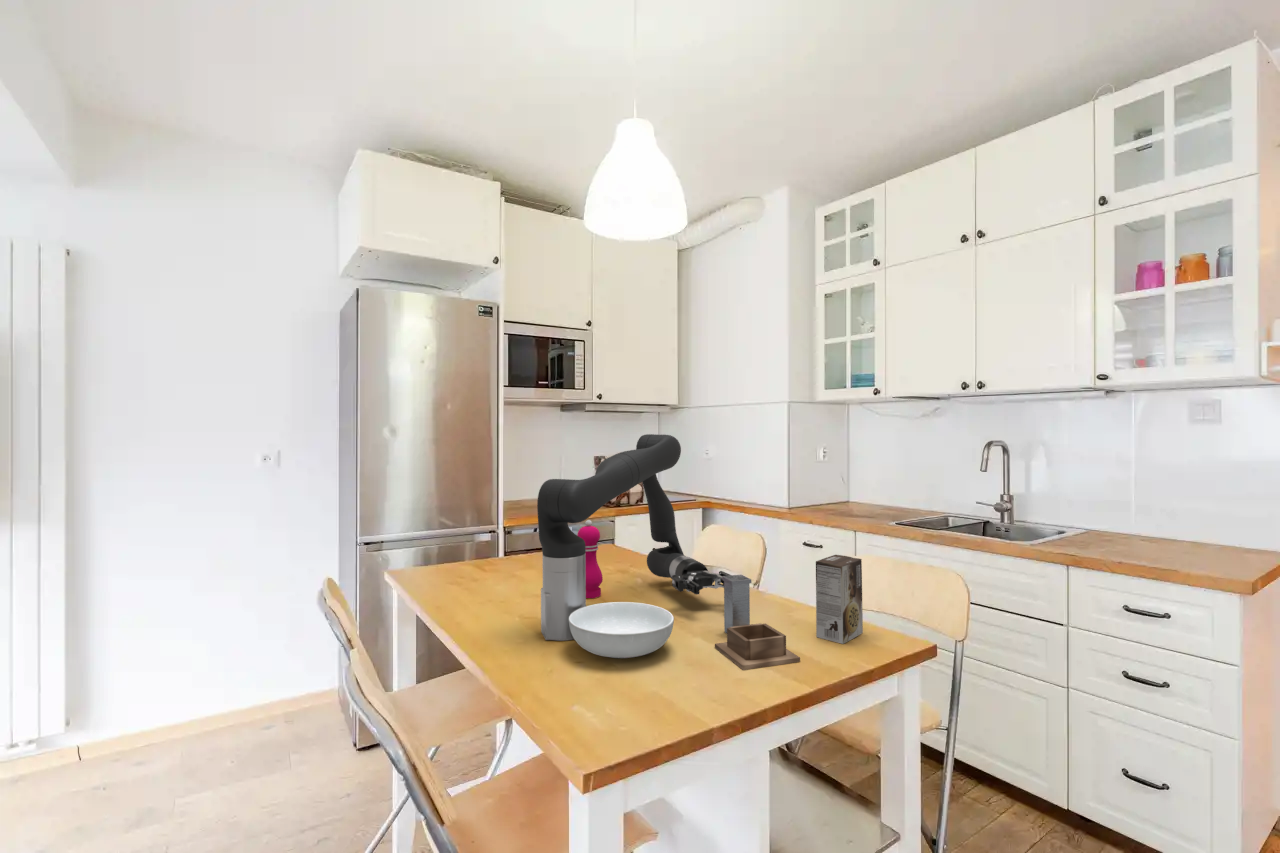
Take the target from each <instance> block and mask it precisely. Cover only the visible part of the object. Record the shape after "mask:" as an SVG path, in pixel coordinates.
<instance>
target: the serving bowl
mask: <svg viewBox="0 0 1280 853" xmlns="http://www.w3.org/2000/svg"><path fill="white" fill-rule="evenodd" d="M674 621H675V617H674V615H673V614H672V613H671V612H670V611H669V610H668V609H665V608H663V607H661V606H657V605H653V604H648V603H643V602H632V601H614V602H613V601H610V602H603V603H602V602H601V603H595V604H590V605H586V607H583V608H580V609H578V610H576V611H574V612H573V613H571V615H570V616H569V626H570V630H571V633H572V636H573V638H574V639H573V640H574V641H575V643H577V645H578V646H580V647H581V648H582V649H584V650H585V651H587V652H589V653H591V654H594V655H597V656H601V657H606V658H612V659H628V658H635V657H641V656H645V655H649V654H651V653H653V652H655V651H657V650H658V649H661V647H663V646H664V645H665V643H666V642H667V641H668V639H669V638H670V636H671V634H672V632H673V628H674Z"/></svg>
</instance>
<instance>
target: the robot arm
mask: <svg viewBox="0 0 1280 853" xmlns="http://www.w3.org/2000/svg"><path fill="white" fill-rule="evenodd" d="M681 452H682V446H681V444H680V442H679V440H678V439H677V438H676V437H675V436H673V435H670V434H654V433H653V434H651V433H649V434H648V433H647V434H642V435H641V436H640V437H639V438H638V440H637V442H636V447H635V449H631V450H625V451H621V452H619V453H618V452H617V453H615V454H613V455H611V456H609V457H607V458H606V459H604V460H603V461H601V462H600V463H599V464H598V466H597V468H596V470H595V473H594V475H592V476H590V477H587V478H584V479H583V478H582V479H567V478H566V479H565V478H564V479H562V478H550V479H546V480H545V481H544V482H543V483H542V485H541V486H540V488H539V489H538V490H539V491H538V495H537V504H536V505H537V507H536V508H537V510H536V511H537V524H538V525H537V528H538V540H539V543H540V546H541V551H542V554H541V555H542V587H541V589H540V632H541V634H542V636H543V638H544V640H545V641H559V642H560V641H571V640H575V639H574V638H573V636H572V633H571V630H570V626H569V616H570V615H571V613H573V612H574V611H576V610H578V609H580V608H583V607H586V606H587V599H586V555H585V553H586V547H585V541H584V540H583V539H582V538H580V537H579V536H577V535H578V534H576V533H575V532H574V531H573V530H571V527H570V526H569V524H577V523H581V522H584V521H587V520H588V519H589V518H590V517H591V516H593V515H594V514H595V513H596V512H597V511H598V510H600V509H601V508H602V507H603V506H604V505H606V504H607V503H608V502H611V501H612V500H613V499H616V498H617V497H619V496H620V495H622V494H624V493H626V492H628V491H629V490H631V489H633V488H635V487H637V485H638V484H641V483H642V487H643V491H644V494H645V497H646V503H647V507H648V514H649V515H648V516H649V525H650V536H651V539H652V540H653V541H654V542H656V543H667V544H668V546H665V547H660V548H655V549H652V550H651V551H650V552H649V553H648V554H647V557H646V565H647V568H648V569H649V571H650V572H651V573H652V574H653V575H655V576H657V577H662V578H665V579H667V578H668V579H669V578H670V579H671V580H672V582H671V584H672V585H671V586H672V587H673V588H674V589H675V590H677V591H678V592H684V590H686V592H688V593H692V594H694V595H700V591H701V590H703V589H708V588H709V589H715V590H716V589H719V588H723V589H724V581H723V580H722V576H731V575H732V574H729V573H727V572H725V571H722V570H720V571H718V572H710V571H709V570H708V568H707V567H706V565H705V564H704V563H702V562H700V561H698V560H696V559H695V558H692V557H689V556H687V555H684V551H683V549H682V547H681V544H680V542H679V539H678V535H677V528H676V518H675V517H676V516H675V511H674V507H673V505H672V502H671V501H670V499H669V497H668V496H667V494H666V493H665V491H664V489H663V487H662V486H661V484H660V482H659V480H658V477H657V474H658V473H661V472H664V471H666V470H670V469H672V468H673V467H675V465H676V464H677V463H678V461H679V460H680V457H681Z"/></svg>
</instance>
